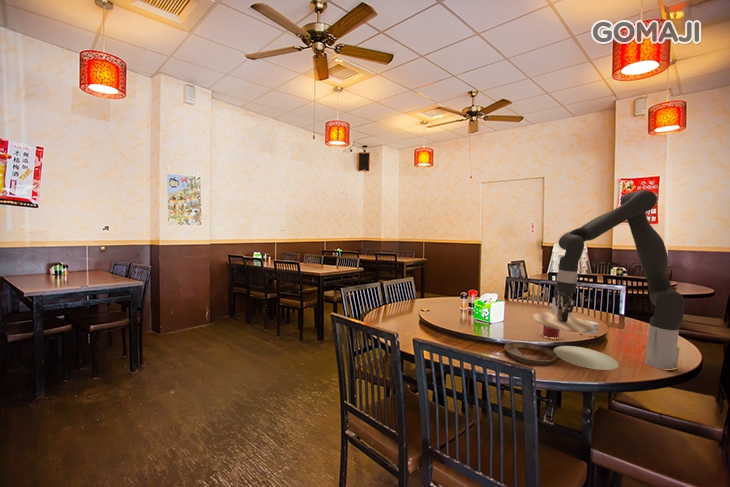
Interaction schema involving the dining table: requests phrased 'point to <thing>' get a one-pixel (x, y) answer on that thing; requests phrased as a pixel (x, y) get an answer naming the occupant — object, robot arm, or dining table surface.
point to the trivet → (585, 357)
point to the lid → (563, 322)
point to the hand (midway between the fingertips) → (562, 319)
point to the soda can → (550, 331)
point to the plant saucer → (516, 354)
